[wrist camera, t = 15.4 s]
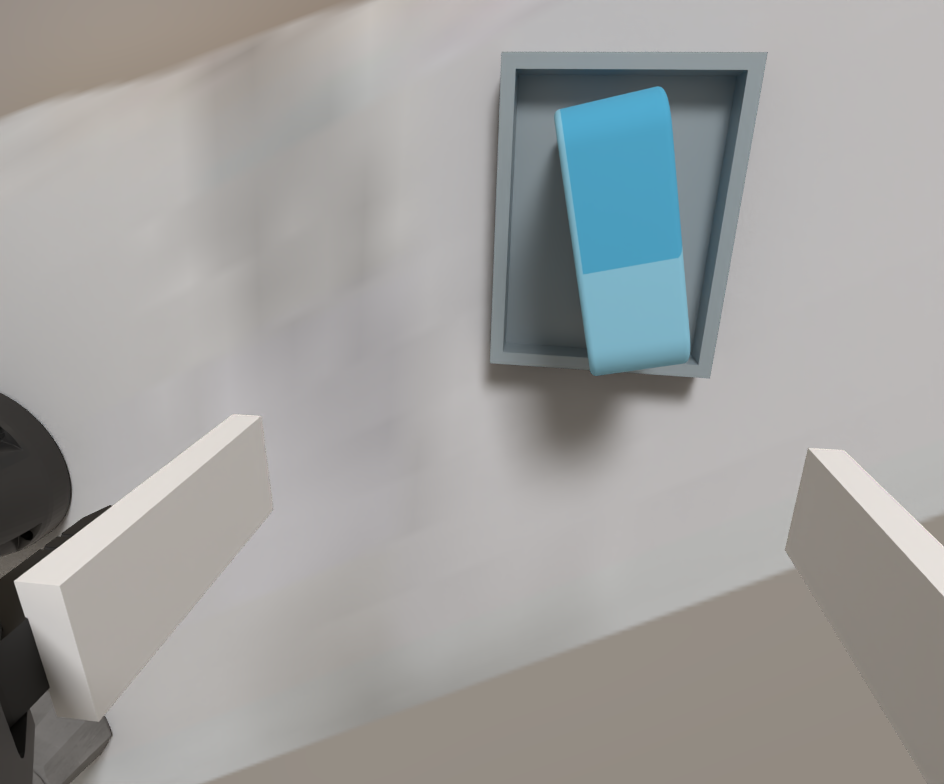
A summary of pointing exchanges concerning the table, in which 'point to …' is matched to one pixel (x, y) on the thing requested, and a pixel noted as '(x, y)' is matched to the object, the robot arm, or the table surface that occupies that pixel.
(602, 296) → the data package
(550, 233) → the tray
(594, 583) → the table surface
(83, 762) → the coffeepot
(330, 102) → the table surface
